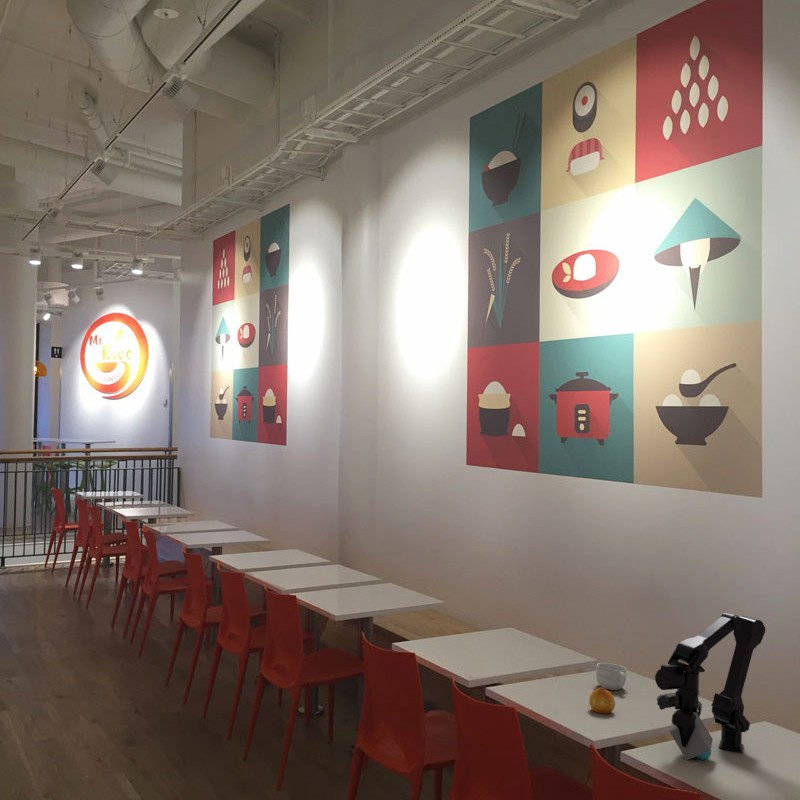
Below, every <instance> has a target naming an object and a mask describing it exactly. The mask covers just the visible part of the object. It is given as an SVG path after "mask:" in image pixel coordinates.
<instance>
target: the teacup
mask: <svg viewBox="0 0 800 800" xmlns="http://www.w3.org/2000/svg"><path fill="white" fill-rule="evenodd" d="M627 670H628V669H627V667H625V666H623V665H620V664H615V663H610V662H598V663H597V664H596V672H595V673H596V676H595V677H596V683H598V685H599V686H600V688H604V689H605V690H608V691H609V690H610V691H619V690H620V689H621V688H623V687H624V686H625V684H626V680H627Z"/></svg>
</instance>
